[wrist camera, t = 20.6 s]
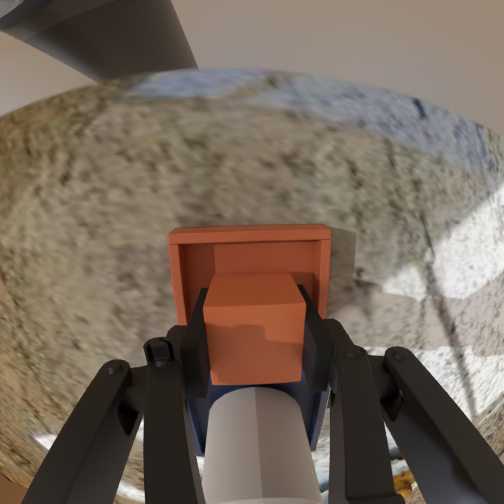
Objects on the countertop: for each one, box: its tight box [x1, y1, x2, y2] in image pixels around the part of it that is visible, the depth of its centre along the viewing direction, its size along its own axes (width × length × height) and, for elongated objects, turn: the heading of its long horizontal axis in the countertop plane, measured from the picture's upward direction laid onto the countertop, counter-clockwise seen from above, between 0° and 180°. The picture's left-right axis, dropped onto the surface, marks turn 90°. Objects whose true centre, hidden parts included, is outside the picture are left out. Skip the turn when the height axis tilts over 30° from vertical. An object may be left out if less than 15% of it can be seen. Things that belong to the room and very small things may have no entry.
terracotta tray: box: [168, 224, 332, 325], centre depth 17 cm, size 9×9×2 cm
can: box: [202, 387, 323, 504], centre depth 15 cm, size 8×8×12 cm
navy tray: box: [186, 368, 330, 457], centre depth 20 cm, size 11×11×2 cm
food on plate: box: [321, 459, 418, 504], centre depth 24 cm, size 25×25×7 cm
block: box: [203, 272, 306, 385], centre depth 15 cm, size 5×5×5 cm
